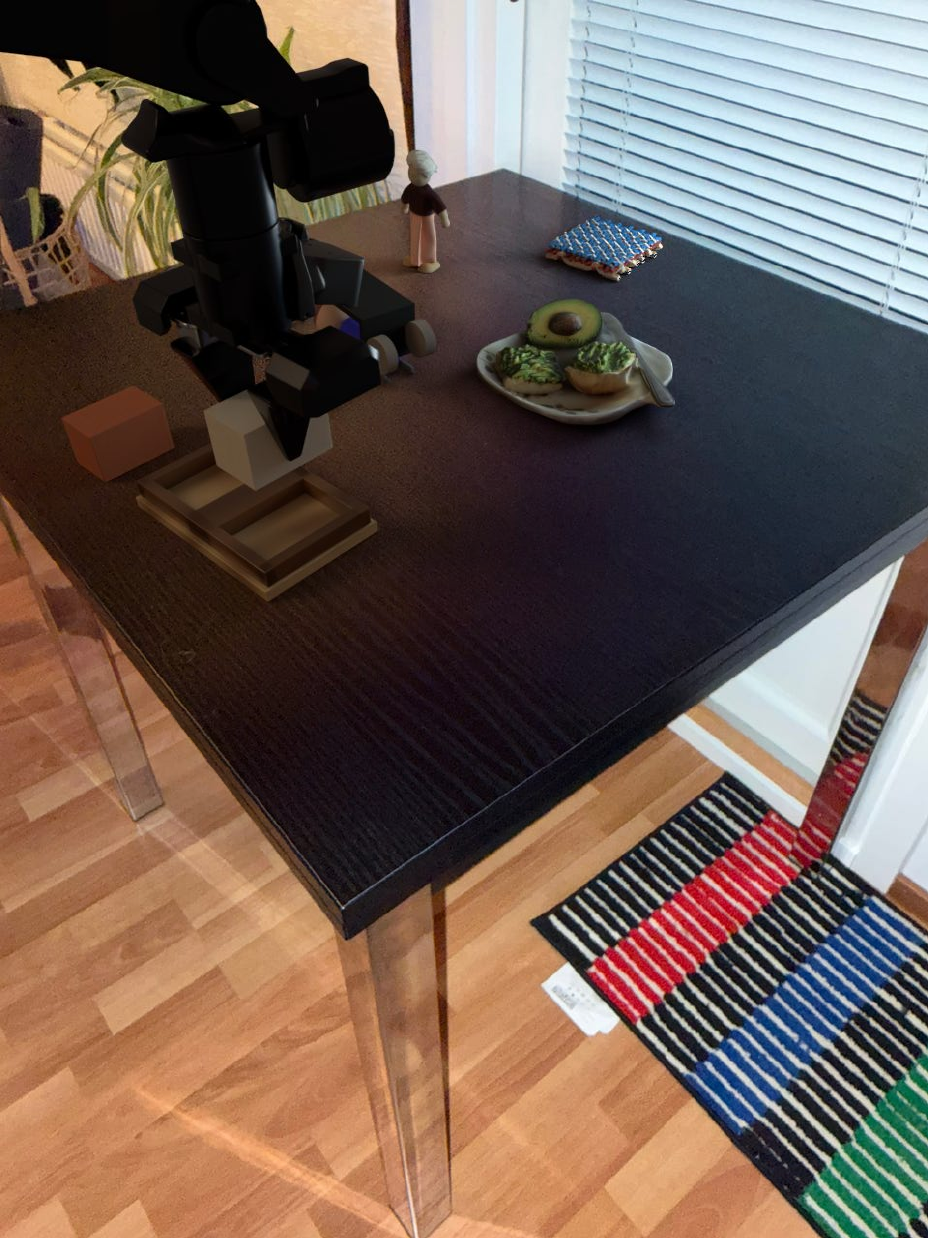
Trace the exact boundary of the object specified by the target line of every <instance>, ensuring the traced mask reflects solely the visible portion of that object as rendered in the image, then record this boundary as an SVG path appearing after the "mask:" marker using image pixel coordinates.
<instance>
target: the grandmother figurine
mask: <svg viewBox="0 0 928 1238" xmlns="http://www.w3.org/2000/svg"><path fill="white" fill-rule="evenodd" d="M405 158H406V159H405V161H406V165H407V177H408V180H409V182H410V183H408V184H407V185H406V186H405V188H404V189H403V191H402V193H401V195H400V206H399V212H400V214H402V215H406V214H407V213H409V222H410V225H409V226H410V255H407V256H405V257H404V259H403V260H402V261H403V262H402V265H403V266H405V267H408V268H409V267H410V268H411V267H418V268H417V269H418V272H420V273H423V274H432V273H434V272H435V271H437V270H438V269H439V268H441V265H440V263H439V262H438V261H437V235H436V233H437V231H436V227H435V216H437V217H438V219H439V220H440V225H441V228H443V229H447V228H449V227H450V225H451V222H450V219H449V214H448V211H447V210H448V207H447V205H446V204H445V203H444V201H443V199H442V198H441V197H440V195H439V194H438V193H437V192H436V191H435V190H434V189H433V187H432V185H430V184H429V182H430V181H431V178H432V177H433V175H434V174H435V173H438V165H437V163H436V162H435V160H434V159H433V158H432V155H430V153H429V152H427V151H425V150H423V149H412V150H410V151H409V152H408V153H407V155H406V157H405ZM435 214H436V215H435Z"/></svg>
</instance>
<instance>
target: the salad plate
mask: <svg viewBox="0 0 928 1238" xmlns="http://www.w3.org/2000/svg"><path fill="white" fill-rule="evenodd" d="M525 323H526V329H524V330H521V331H519V332H517V333H514V334H512V335H509V336H506V337H504V338H502V339H499V340H496V341H494V342H492V343H489V344H488V345H485V347H483V348H481V349H480V350H479V352H478V353H477V355H476V360H475V370H476V374H477V376H478V378H479V380H480V381H481V382H482V383H483V384H484V385H485V386H486V388H487V389H489V390H490V391H491V392H492V393H494V394H496V395H497V396H500V397H503V398H505V399H507V400H509V401H511V403H513V404H514V405H517V406H519V407H521V408H524V409H525V410H528V411H530V412H533V413H535V414H538V415H540V416H544V417H545V418H548V419H551V420H553V421H556V422H559V423H562V424H567V425H581V426H586V425H587V426H594V425H595V426H597V425H602V424H608V423H612V422H614V421H617V420H619V419H620V418H622V417H624V416H626V415H627V414H629V413H630V412H632V411H634V410H636V409H639V408H641V407H643V406H646V405H651V404H652V405H655V406H657V407H658V408H672V407H674V406H675V404H676V403H675V402H676V401H675V399H674V397H673V396H672V394H671V393H670V391H669V390H668V389H667V386H668V385H669V383H671V382H672V378H673V363H672V360H671V358H670V357H669V355H667V354H666V353H665V352H662V351H661V350H659V349H657V348H656V347H654V346H652V345H649V344H648V343H645V342H642V341H641V340H639V339H637V338H635V337H632V336H631V335H629V334H628V333H627V331H626V330H625V329H624V325H623V324H622V323H621V322H620V321H619V320H618V319H617V317H615V316H614V315H613V314H611V313H610V312H603V311H600V310H599V308H598V307H596V305H594V304H592V303H591V302H589V301H586V300H582V299H578V298H563V299H562V298H561V299H557V300H554V301H550V302H548V303H545V304H544V305H541V306H540V307H538V308H536V310H534V311H532V313H531V314H530V317H529V319H527V320H526V321H525Z"/></svg>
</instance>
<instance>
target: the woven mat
mask: <svg viewBox="0 0 928 1238" xmlns="http://www.w3.org/2000/svg"><path fill="white" fill-rule="evenodd" d="M600 218H601V217H600V216H595V217H594V218H591V219H586V220H585V223H583V224H577V227H575V228H572V229H571V230H569V231H564V232H563V234H562V235H559V236H556V238H555V239H553V240H549V243H548V245H547V246H548V248H547V249H546V250H545V252H546V254H545V258H546V259H548V260H549V259H550V260H556V261H558V260H560V261H563V263H564V264H567V266H571V267H574V268H576V269H579V270H583V271H585V272H586V271H593V272H597V273H598V274H599V275H601V274H602V275H601V276H603V278H607V279H609V280H613V281H616V282H619V281H620V279H621V275H622V274H623V273H625V274H627V275H630V274H631V273H632V268H629V267H633V268H634V267H637V266H639V264H644V263H645V261H644V262H640V261H639V260H642V261H643V260H644V259H645V260H646V258H649V257H650V258H653V259H655V258H656V257H657V256H658V253H657V251H652V249H655V250H660V251H662V249H663V247H664V245H663V244H662V240H663V239H662V237H661V236H657V233H656V232H652V233H649V232H648V233H645V231H646V230H645V229H640V230H637V229H636V230H635V229H634V226H632V225H630V226H628V227H627V226H624V227H623V226H622V225H623V223H621V222H618V223H611V222H612V219H606V220H600ZM652 254H654V255H655V254H657V255H656V256H655V257H654V256H650V255H652ZM643 256H644V257H643ZM645 256H647V257H645ZM637 259H639V260H637ZM638 263H639V264H638ZM637 264H638V265H637ZM576 266H577V267H576ZM579 267H580V268H579ZM582 268H583V269H582ZM625 271H626V272H629V271H631V272H629V273H626V272H625ZM620 274H621V275H620ZM604 275H606V276H604ZM608 276H609V277H608ZM619 278H620V279H619Z"/></svg>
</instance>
